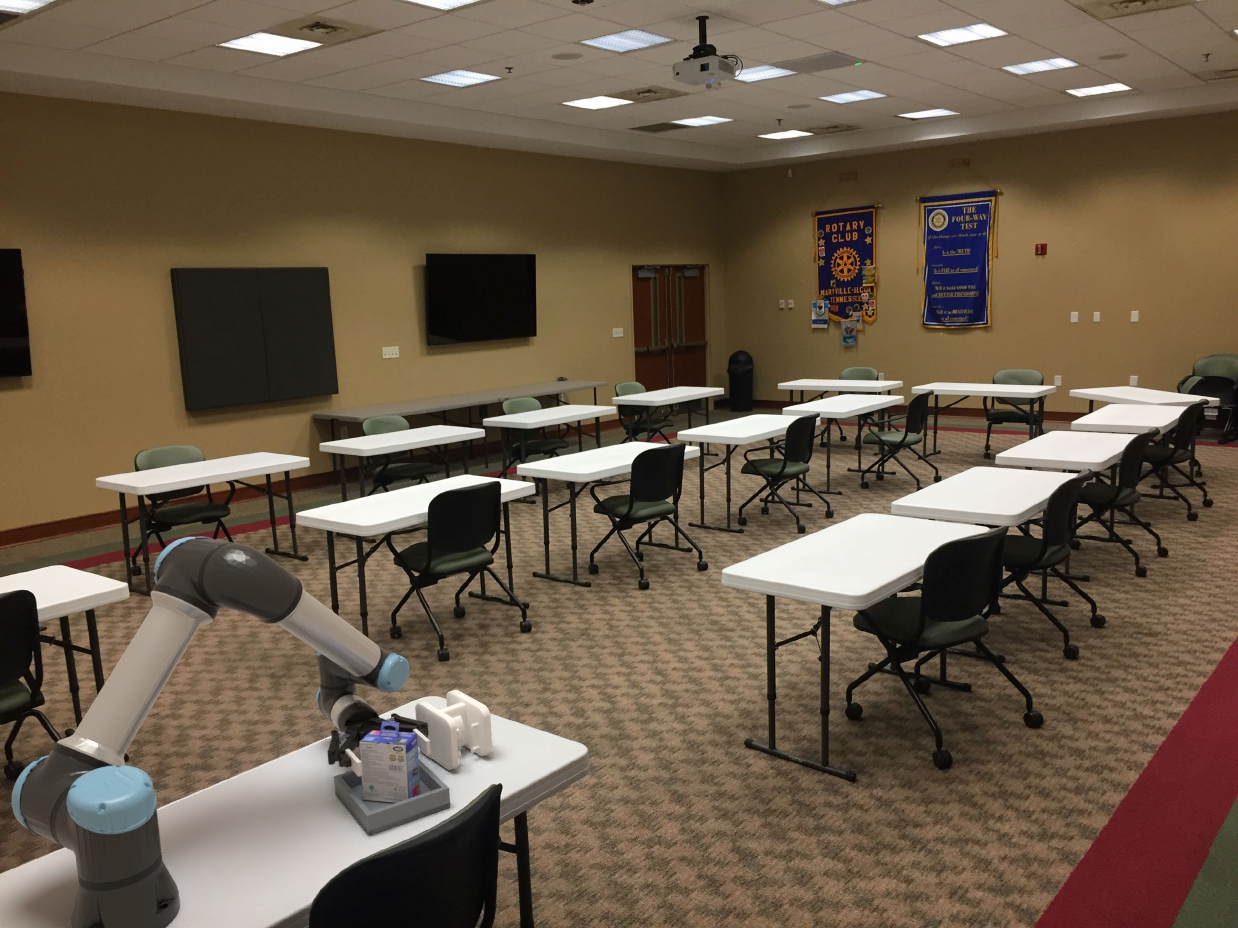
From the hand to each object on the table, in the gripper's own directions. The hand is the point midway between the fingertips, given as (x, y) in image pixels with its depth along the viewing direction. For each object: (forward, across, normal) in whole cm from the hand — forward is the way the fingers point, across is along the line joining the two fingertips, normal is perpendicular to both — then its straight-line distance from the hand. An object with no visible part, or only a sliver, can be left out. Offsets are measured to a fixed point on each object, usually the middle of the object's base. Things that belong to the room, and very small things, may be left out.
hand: (395, 758), depth 178 cm
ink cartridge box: (-3, 0, -9) cm, 10 cm away
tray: (-3, 0, -10) cm, 11 cm away
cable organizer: (-13, -18, -10) cm, 25 cm away
